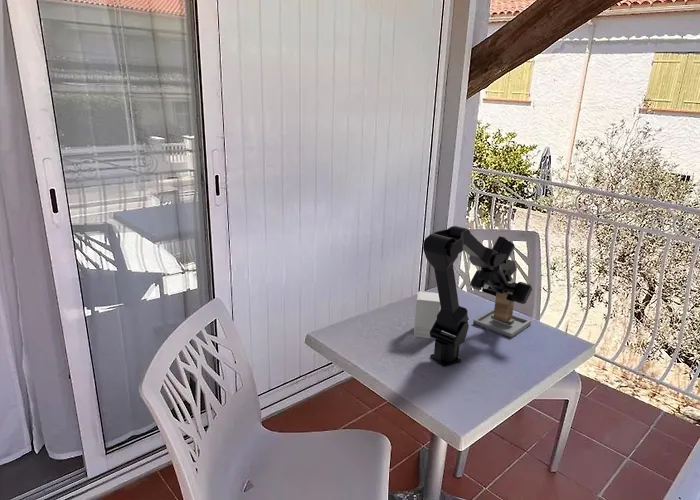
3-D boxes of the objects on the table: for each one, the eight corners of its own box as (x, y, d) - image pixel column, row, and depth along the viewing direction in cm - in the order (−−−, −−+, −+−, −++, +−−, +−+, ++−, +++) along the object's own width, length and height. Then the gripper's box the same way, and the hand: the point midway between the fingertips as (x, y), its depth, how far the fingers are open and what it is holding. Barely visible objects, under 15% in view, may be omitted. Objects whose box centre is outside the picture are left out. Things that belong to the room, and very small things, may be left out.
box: (511, 338, 153) (511, 333, 152) (473, 323, 162) (473, 319, 161) (530, 324, 162) (531, 320, 162) (493, 312, 171) (494, 308, 171)
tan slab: (508, 326, 158) (513, 288, 154) (489, 319, 162) (493, 283, 159) (515, 322, 161) (520, 285, 157) (495, 315, 165) (500, 279, 162)
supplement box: (437, 339, 151) (440, 302, 147) (413, 336, 152) (415, 299, 149) (437, 328, 158) (440, 292, 154) (415, 326, 159) (417, 290, 156)
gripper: (534, 260, 145) (544, 285, 156) (478, 246, 158) (491, 271, 169) (518, 291, 142) (530, 315, 153) (463, 275, 155) (477, 298, 166)
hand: (506, 298), depth 160 cm, fingers closed on tan slab, 4 cm apart
